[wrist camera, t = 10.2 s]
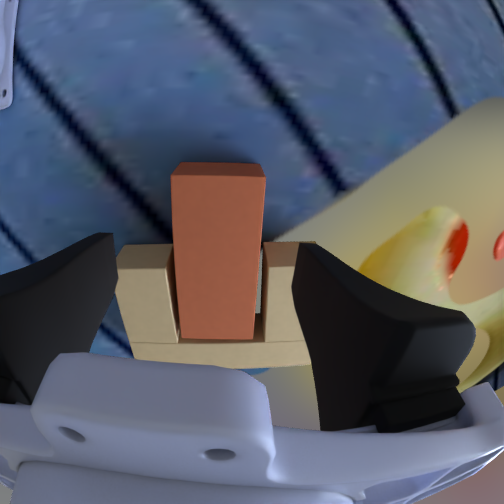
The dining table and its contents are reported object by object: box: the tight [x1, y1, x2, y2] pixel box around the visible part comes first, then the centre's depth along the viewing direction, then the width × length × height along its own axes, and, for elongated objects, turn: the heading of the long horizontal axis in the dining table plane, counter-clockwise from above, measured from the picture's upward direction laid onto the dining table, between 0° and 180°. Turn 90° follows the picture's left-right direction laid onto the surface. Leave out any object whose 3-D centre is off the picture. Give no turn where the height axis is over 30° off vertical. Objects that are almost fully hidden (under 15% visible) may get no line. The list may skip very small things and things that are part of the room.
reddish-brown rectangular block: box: [171, 162, 266, 339], centre depth 17 cm, size 10×4×3 cm, turn 176°
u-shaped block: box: [115, 241, 316, 369], centre depth 19 cm, size 8×12×3 cm, turn 89°
